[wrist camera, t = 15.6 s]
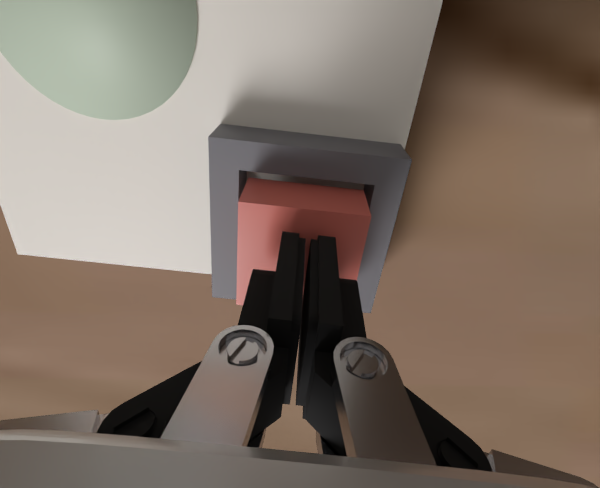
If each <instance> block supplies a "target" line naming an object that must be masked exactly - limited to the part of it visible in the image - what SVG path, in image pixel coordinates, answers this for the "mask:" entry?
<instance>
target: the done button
mask: <svg viewBox="0 0 600 488" xmlns="http://www.w3.org/2000/svg"><path fill="white" fill-rule="evenodd" d="M370 220H371V213H370V210H369V206H368V203H367V199H366V196H365V193H364V190H358V189H349V188H340V187H331V186H321V185H312V184H303V183H294V182H285V181H276V180H267V179H258V178H249V177H248V180H247V182H246V184H245V187H244V189H243V191H242V194H241V196H240V198H239V201H238V237H237V291H236V305H243V304H244V300H245V296H246V292H247V289H248V285H249V281H250V277H251V273H252V270H253V269H259V270H268V271H276V266H277V260H278V254H279V248H280V242H281V236H282V231H285V232H294V233H299V238H306V243H305V262H304V281H303V292H304V285H305V278H306V271H307V263H308V256H309V249H310V242H311V239H316V240H317V238H318V235H321V236H330V237H336V247H337V258H338V269H339V278H342V279H351V280H356V281H357V277H358V273H359V268H360V264H361V260H362V255H363V251H364V247H365V242H366V238H367V234H368V229H369V225H370Z"/></svg>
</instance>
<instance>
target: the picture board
mask: <svg viewBox="0 0 600 488" xmlns="http://www.w3.org/2000/svg"><path fill="white" fill-rule="evenodd" d="M442 2H443V0H0V205H1V208H2V211H3V213H4V216H5V219H6V222H7V225H8V228H9V230H10V233H11V236H12V239H13V242H14V245H15V248H16V250H17V253H18V254H22V255H31V256H41V257H50V258H60V259H70V260H79V261H89V262H99V263H108V264H118V265H128V266H137V267H147V268H157V269H166V270H176V271H186V272H195V273H205V274H212V297H217V298H227V299H236V291H237V237H238V201H239V198H240V196H241V194H242V191H243V189H244V187H245V184H246V182H247V180H248V177H249V178H258V179H267V180H276V181H285V182H294V183H303V184H312V185H321V186H331V187H340V188H349V189H358V190H364V193H365V196H366V199H367V203H368V206H369V210H370V213H371V220H370V225H369V229H368V234H367V238H366V242H365V247H364V251H363V255H362V260H361V264H360V268H359V273H358V277H357V283H358V288H359V294H360V300H361V307H362V312H364V313H371V310H372V306H373V302H374V298H375V295H376V291H377V287H378V284H379V280H380V276H381V272H382V269H383V265H384V261H385V258H386V254H387V250H388V247H389V243H390V239H391V235H392V232H393V228H394V224H395V221H396V217H397V213H398V209H399V206H400V202H401V198H402V195H403V191H404V187H405V183H406V180H407V176H408V172H409V169H410V165H411V161H412V159H411V158H410V157H409V155H408V154H407V152H406V151H405V147H406V143H407V139H408V135H409V131H410V127H411V123H412V119H413V116H414V112H415V108H416V104H417V100H418V96H419V92H420V88H421V84H422V80H423V76H424V72H425V69H426V65H427V61H428V57H429V53H430V49H431V45H432V41H433V37H434V33H435V29H436V25H437V22H438V18H439V14H440V10H441V6H442Z"/></svg>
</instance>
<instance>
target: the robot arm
mask: <svg viewBox="0 0 600 488" xmlns="http://www.w3.org/2000/svg"><path fill="white" fill-rule="evenodd" d="M305 243H306V238H299V233H294V232H285V231H282V236H281V242H280V248H279V254H278V260H277V266H276V271H268V270H259V269H253V270H252V273H251V277H250V281H249V285H248V289H247V292H246V296H245V300H244V304H243V308H242V311H241V315H240V319H239V323H238V326H233V327H230V328H227V329H225V330H223V331H222V332H221V333H219V334H218V335H217V336H216V338H215V339H214V340H213V342H212V344H211V346H210V348H209V349H208V351H207V353H206V355H205V357H204V359H203V360H202V361H201V362H199V363H197V364H195V365H193V366H191V367H190V368H188V369H186V370H184V371H182V372H180V373H178V374H177V375H175V376H173V377H171V378H169V379H167V380H165V381H164V382H162V383H160V384H158V385H156V386H154V387H152V388H151V389H149V390H147V391H145V392H143V393H141V394H139V395H138V396H136V397H134V398H132V399H130V400H128V401H126V402H124V403H123V404H121V405H120V406H118V407H117V408H115V409H114V410H112V411H111V412H110V413H109V414H101V415H99V412H98V410H91V411H82V412H73V413H64V414H55V415H45V416H36V417H27V418H18V419H9V420H1V421H0V488H599V487H597V486H596V485H595V484H593V483H591V482H589V481H587V480H585V479H583V478H581V477H578V476H575V475H571V474H568V473H565V472H562V471H559V470H556V469H553V468H549V467H546V466H543V465H540V464H537V463H534V462H531V461H527V460H524V459H521V458H518V457H515V456H512V455H509V454H505V453H502V452H499V451H496V450H493V449H492V450H491V451H490V453H486V452H483V451H482V449H481V448H480V447H479V446H478V445H477V444H476V443H475V442H474V441H473V440H472V439H471V438H469V437H468V436H467V435H466V434H464V433H463V432H462V431H461V430H459V429H458V428H457V427H456V426H454V425H453V424H452V423H450V422H449V421H448V420H447V419H445V418H444V417H443V416H442V415H440V414H439V413H438V412H437V411H435V410H434V409H433V408H432V407H430V406H429V405H428V404H426V403H425V402H424V401H423V400H421V399H420V398H419V397H418V396H416V395H415V394H414V393H413V392H411V391H410V390H409V389H408V388H406V387H405V386H404V385H403V382H402V380H401V377H400V375H399V372H398V370H397V368H396V365H395V363H394V360H393V358H392V357H391V355H390V353H389V352H388V351H387V350H386V349H385V348H384V347H383V346H382V345H380V344H379V343H377V342H375V341H373V340H370V339H367V338H366V332H365V326H364V319H363V313H362V307H361V300H360V294H359V288H358V283H357V281H356V280H351V279H342V278H339V269H338V258H337V247H336V237H330V236H321V235H318V238H317V240H316V239H311V242H310V249H309V256H308V263H307V271H306V278H305V285H304V292H303V281H304V262H305ZM299 335H300V337H299ZM298 342H299V355H298V373H297V391H296V405H301V406H303V419H306V420H307V421H308V422H309V423H310V424H311V425H312V427H313V428H314V429H315V430H316V444H317V450H318V454H316V453H306V452H296V451H285V450H275V449H265V448H262V445H263V442H264V438H265V433H266V428H267V427H268V426H269V425H271V424H272V423H273V422H275V421H276V420H277V419H279V418H280V417H281V411H282V404H290V398H291V391H292V384H293V377H294V370H295V363H296V356H297V349H298Z"/></svg>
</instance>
